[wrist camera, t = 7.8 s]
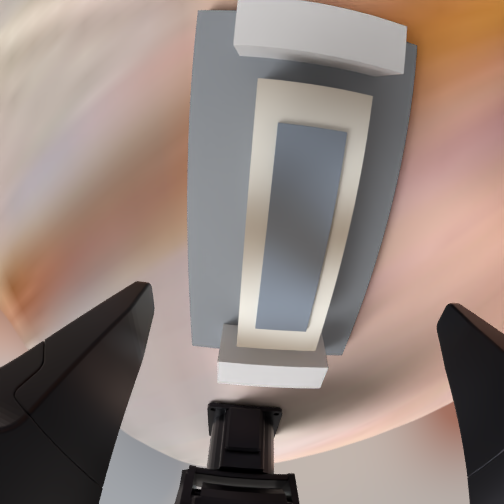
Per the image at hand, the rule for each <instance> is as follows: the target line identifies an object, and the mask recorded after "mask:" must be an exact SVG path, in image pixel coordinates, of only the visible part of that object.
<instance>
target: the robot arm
mask: <svg viewBox="0 0 504 504" xmlns="http://www.w3.org/2000/svg"><path fill="white" fill-rule="evenodd" d="M153 315H154V300H153V293H152V287H151V284H150V283H147V282H139V281H137V282H134V283H133V284H131V285H130V286H128V287H126V288H125V289H123V290H121V291H120V292H118V293H117V294H115V295H113V296H112V297H110V298H109V299H107V300H105V301H104V302H102V303H101V304H99V305H98V306H96V307H94V308H93V309H91V310H90V311H88V312H87V313H85V314H84V315H82V316H80V317H79V318H77V319H76V320H74V321H73V322H71V323H70V324H68V325H67V326H65V327H63V328H62V329H60V330H59V331H57V332H56V333H54V334H53V335H51V336H50V337H48V338H47V339H45V342H44V341H42V342H41V343H39V344H38V345H36V346H35V347H33V348H32V349H30V350H29V351H27V352H25V353H24V354H22V355H21V356H19V357H18V358H16V359H14V360H13V361H11V362H9V363H7V364H6V365H4V366H2V367H0V504H99V500H100V496H101V493H102V487H103V484H104V481H105V477H106V473H107V470H108V466H109V462H110V459H111V455H112V452H113V449H114V446H115V442H116V439H117V436H118V432H119V429H120V426H121V423H122V420H123V417H124V414H125V410H126V407H127V404H128V401H129V398H130V395H131V392H132V389H133V387H134V384H135V381H136V378H137V375H138V372H139V369H140V367H141V363H142V360H143V357H144V353H145V349H146V344H147V340H148V336H149V332H150V327H151V323H152V319H153ZM437 333H438V337H439V341H440V346H441V351H442V356H443V361H444V365H445V370H446V374H447V377H448V381H449V385H450V389H451V393H452V396H453V401H454V405H455V409H456V413H457V418H458V423H459V427H460V433H461V438H462V443H463V449H464V455H465V462H466V468H467V476H468V488H469V499H470V504H504V334H503V333H501V332H500V331H498V330H497V329H496V328H494V327H493V326H491V325H490V324H488V323H487V322H486V321H484V320H483V319H481V318H480V317H478V316H477V315H475V314H474V313H472V312H471V311H469V310H468V309H466V308H465V307H463V306H462V305H460V304H458V303H450V304H448V305H447V306H446V307H445V309H444V311H443V313H442V315H441V317H440V319H439V321H438V323H437ZM281 416H282V409H280V408H271V407H253V406H239V405H228V404H218V403H209V404H208V425H209V435H210V436H211V439H210V447H209V455H208V463H207V469H206V468H199V467H196V466H192V465H190V466H189V469H187V470H182V476H181V481H180V487H179V490H178V494H177V497H176V501H175V504H299V498H298V492H297V486H296V480H295V474H293V473H291V474H290V473H289V474H274V436H275V434H276V431H277V428H278V425H279V422H280V419H281ZM196 486H199V487H202V488H201V490H200V489H196Z"/></svg>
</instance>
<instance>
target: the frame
mask: <svg viewBox="0 0 504 504" xmlns="http://www.w3.org/2000/svg"><path fill="white" fill-rule="evenodd" d="M372 99H373V96H370V95H366V94H361V93H357V92H352V91H347V90H342V89H337V88H331V87H325V86H319V85H313V84H306V83H299V82H291V81H283V80H273V79H263V78H258V82H257V93H256V105H255V116H254V128H253V140H252V152H251V164H250V176H249V188H248V201H247V213H246V226H245V239H244V252H243V265H242V279H241V292H240V306H239V320H238V334H237V347H248V348H261V349H277V350H297V351H315V350H316V347H317V344H318V341H319V338H320V335H321V332H322V328H323V325H324V322H325V318H326V315H327V312H328V308H329V305H330V301H331V298H332V294H333V291H334V287H335V283H336V280H337V276H338V272H339V268H340V265H341V261H342V257H343V253H344V249H345V245H346V240H347V236H348V232H349V228H350V223H351V219H352V214H353V210H354V205H355V200H356V195H357V190H358V185H359V180H360V175H361V170H362V164H363V158H364V153H365V147H366V141H367V134H368V128H369V121H370V114H371V107H372Z"/></svg>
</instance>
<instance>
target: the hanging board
mask: <svg viewBox="0 0 504 504" xmlns="http://www.w3.org/2000/svg"><path fill="white" fill-rule="evenodd" d="M406 37H407V26H404V25H401V24H398V23H395V22H392V21H389V20H386V19H383V18H379V17H376V16H372V15H369V14H365V13H361V12H358V11H354V10H349V9H345V8H341V7H336V6H331V5H326V4H321V3H315V2H309V1H303V0H238V3H237V11H235V10H201V11H198V16H197V25H196V35H195V45H194V56H193V69H192V82H191V98H190V117H189V141H188V186H187V226H188V272H189V297H190V316H191V333H192V345H193V346H201V347H210V348H219V356H218V383H224V384H234V385H246V386H261V387H280V388H320V387H321V384H322V382H323V380H324V377H325V375H326V372H327V370H328V363H327V357H326V355H342V354H343V351H344V349H345V346H346V344H347V341H348V339H349V336H350V334H351V331H352V329H353V326H354V323H355V321H356V318H357V315H358V313H359V310H360V307H361V304H362V302H363V299H364V296H365V293H366V290H367V287H368V284H369V281H370V278H371V275H372V272H373V269H374V266H375V263H376V259H377V256H378V253H379V249H380V246H381V243H382V239H383V236H384V232H385V228H386V225H387V221H388V217H389V214H390V210H391V206H392V202H393V198H394V193H395V189H396V185H397V180H398V176H399V171H400V166H401V162H402V157H403V151H404V146H405V141H406V135H407V129H408V123H409V117H410V110H411V103H412V95H413V87H414V78H415V68H416V56H417V45H414V44H411V43H408V42H406ZM258 78H263V79H273V80H283V81H291V82H299V83H306V84H313V85H319V86H325V87H331V88H337V89H342V90H347V91H352V92H357V93H361V94H366V95H370V96H373V99H372V107H371V114H370V121H369V128H368V134H367V141H366V147H365V153H364V158H363V164H362V170H361V175H360V180H359V185H358V190H357V195H356V200H355V205H354V210H353V214H352V219H351V223H350V228H349V232H348V236H347V240H346V245H345V249H344V253H343V257H342V261H341V265H340V268H339V272H338V276H337V280H336V283H335V287H334V291H333V294H332V298H331V301H330V305H329V308H328V312H327V315H326V318H325V322H324V325H323V328H322V332H321V335H320V338H319V341H318V344H317V347H316V350H315V351H297V350H277V349H261V348H248V347H237V334H238V320H239V306H240V292H241V279H242V265H243V252H244V239H245V226H246V213H247V201H248V188H249V176H250V164H251V152H252V140H253V128H254V116H255V105H256V93H257V82H258Z"/></svg>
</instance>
